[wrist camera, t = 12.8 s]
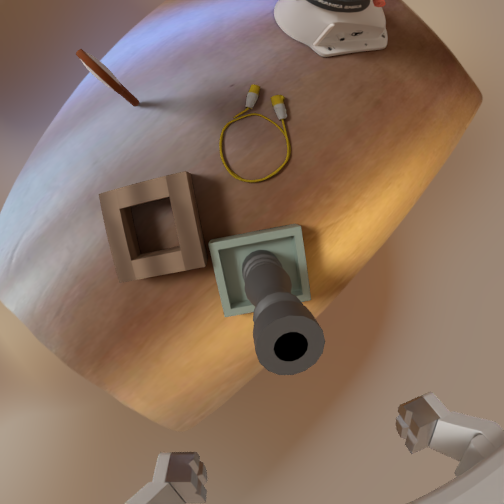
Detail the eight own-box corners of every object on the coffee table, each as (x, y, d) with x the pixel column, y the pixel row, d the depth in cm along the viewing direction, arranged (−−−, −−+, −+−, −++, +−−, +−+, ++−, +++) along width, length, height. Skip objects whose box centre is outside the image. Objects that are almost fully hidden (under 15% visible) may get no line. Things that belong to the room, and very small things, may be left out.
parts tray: (295, 223, 47) (300, 226, 43) (305, 292, 49) (311, 299, 46) (210, 239, 46) (208, 243, 43) (225, 308, 49) (224, 317, 45)
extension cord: (315, 122, 44) (319, 119, 42) (261, 197, 46) (262, 197, 44) (256, 81, 42) (257, 76, 40) (199, 154, 44) (197, 152, 42)
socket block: (190, 173, 44) (185, 171, 39) (208, 259, 47) (205, 266, 42) (111, 193, 44) (98, 194, 39) (129, 274, 46) (119, 282, 42)
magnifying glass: (119, 94, 40) (63, 47, 21) (126, 87, 40) (74, 36, 20) (149, 123, 42) (98, 83, 22) (156, 116, 42) (110, 71, 22)
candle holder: (269, 242, 46) (310, 298, 21) (286, 275, 47) (338, 355, 23) (234, 261, 46) (238, 335, 22) (253, 293, 47) (273, 388, 23)
